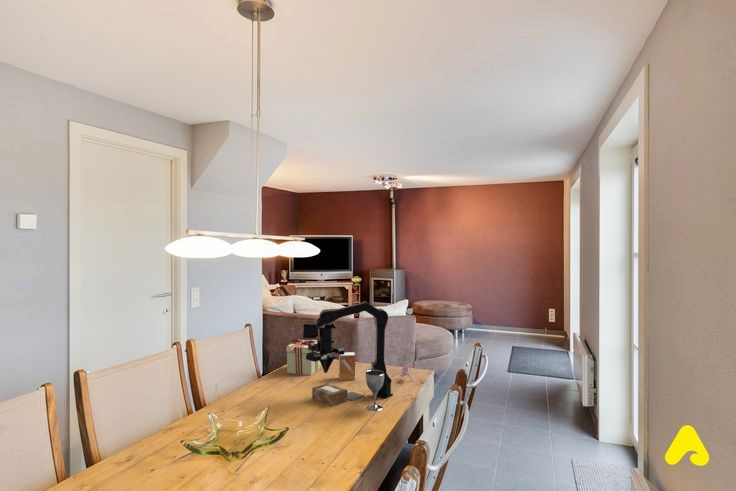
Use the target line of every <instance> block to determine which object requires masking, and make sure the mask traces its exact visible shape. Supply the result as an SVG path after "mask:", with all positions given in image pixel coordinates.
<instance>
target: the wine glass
mask: <svg viewBox="0 0 736 491" xmlns="http://www.w3.org/2000/svg"><path fill="white" fill-rule="evenodd" d="M365 383H366V387H367V388H368V389H369V390H370V392H371V393H372V396H373V404H368V405H367V406H366V409H367V410H368V411H371V412H379V411H382V410H383V409H384V407H383V406H382V405H380V404H377V403H376V402H377V396H376V395H377V393H378V391H379V390H380V389H381V388H382V386H383V383H384V372H383V371H380V370H371V369H370V370H367V371H366V372H365Z"/></svg>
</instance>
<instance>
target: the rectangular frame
mask: <svg viewBox="0 0 736 491" xmlns="http://www.w3.org/2000/svg"><path fill="white" fill-rule="evenodd" d="M324 386H329V387H332V388H335V389H338V390H340V391H339V392H336V393H332V392H329V391H326V390H323V389H320V388H321V387H324ZM311 390H312V391H311V392H312V393H311V399H312V400H314V401H317V402H318V403H322V404H325V405H327V406H329V407H335V406H339V405H340V404H341V405H342V404H344V403H346V402H348V399H347V393H348V389H346V388H343V387H340V386H337V385H334V384H331V383H324V384H320V385H318V386H314V387H312V388H311Z"/></svg>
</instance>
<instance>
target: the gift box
mask: <svg viewBox="0 0 736 491" xmlns="http://www.w3.org/2000/svg"><path fill="white" fill-rule="evenodd" d="M317 341H318V340H317V339H311V340H310V339H305V340H304V339H303V340H302V339H298V338H297V339H296V338H295V339H291V340H290V342H292V343H290V344H288V345H287V346H285V348H286V349H285V350H286V351H285V352H286V373H287V374H292V375H299V376H300V375H303V376H312V375H314V373H316V372H318V371H319V370H320V369H321V368H322V365H321V363H320V361H315V362H313V361H310V360H306V354H307V353H310V352H312V351H311V350H310V351H309V350H308V344H309V343H314V344H317ZM314 352H316V351H314ZM316 353H319V352H316Z"/></svg>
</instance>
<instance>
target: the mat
mask: <svg viewBox="0 0 736 491" xmlns="http://www.w3.org/2000/svg"><path fill="white" fill-rule="evenodd" d="M364 397H365V395H364V394H361V393H357V392H355V391H350V392H347V401H351V402H353V401H356V400H359V399H361V398H364Z"/></svg>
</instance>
